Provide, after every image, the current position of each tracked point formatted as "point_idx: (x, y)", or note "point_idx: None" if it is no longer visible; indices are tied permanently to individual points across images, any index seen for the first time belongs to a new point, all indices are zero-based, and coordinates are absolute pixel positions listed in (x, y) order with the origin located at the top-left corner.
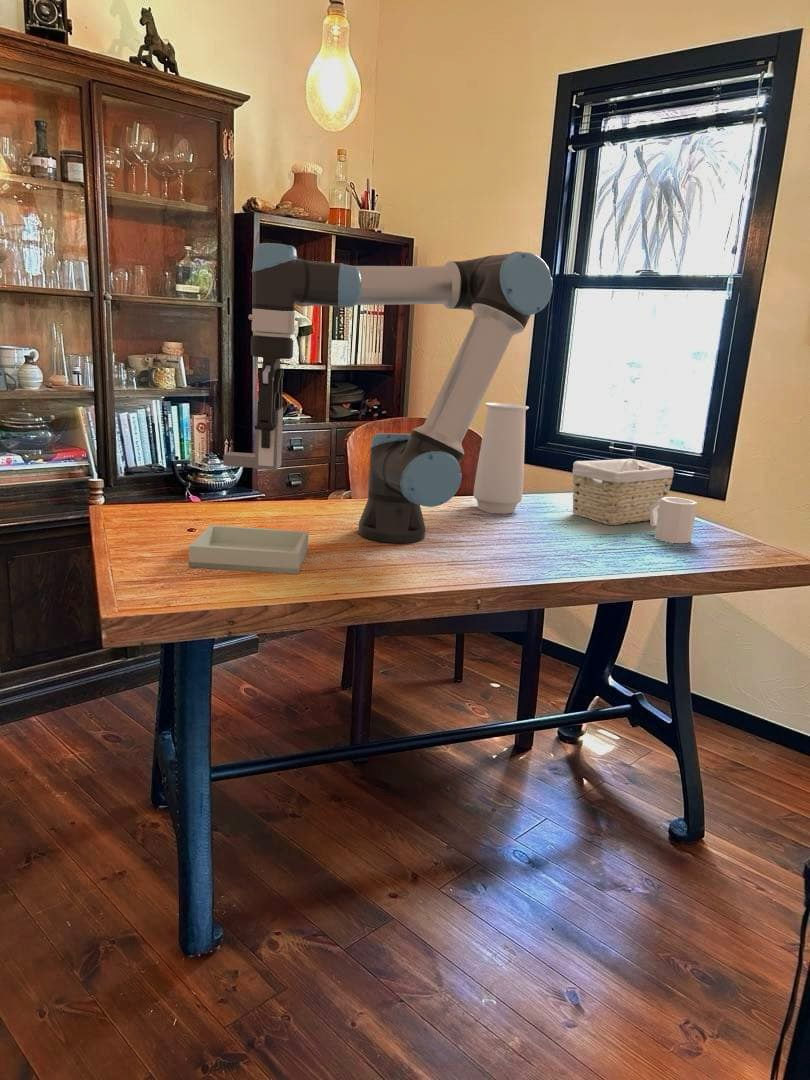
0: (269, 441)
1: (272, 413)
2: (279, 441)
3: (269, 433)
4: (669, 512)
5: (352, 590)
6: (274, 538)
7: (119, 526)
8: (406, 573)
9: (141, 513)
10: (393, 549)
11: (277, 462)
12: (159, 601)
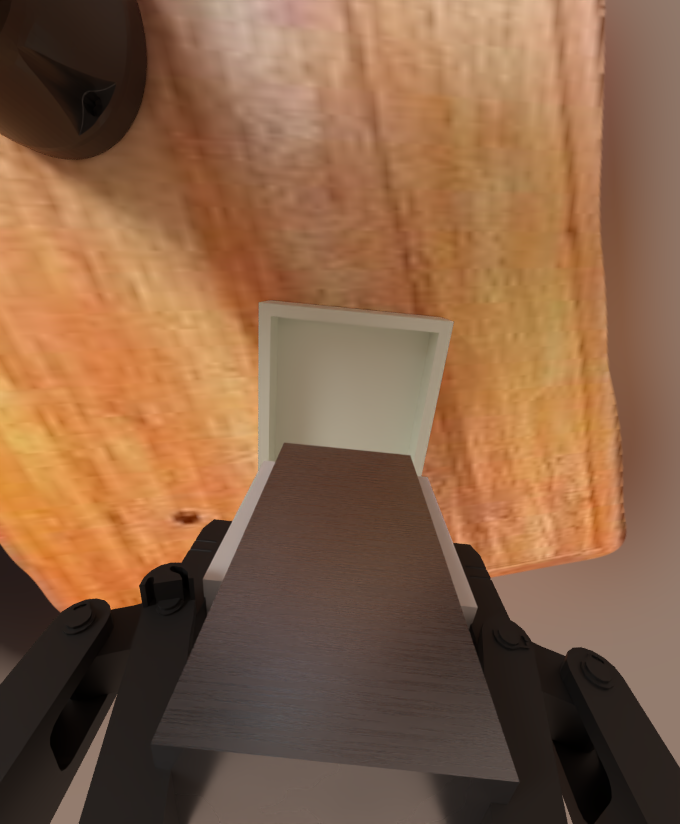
0: (477, 571)
1: (555, 775)
2: (355, 519)
3: (503, 613)
4: None
5: (554, 192)
6: (274, 377)
7: None
8: (430, 16)
9: (112, 595)
10: (206, 43)
11: (394, 467)
12: (568, 511)
